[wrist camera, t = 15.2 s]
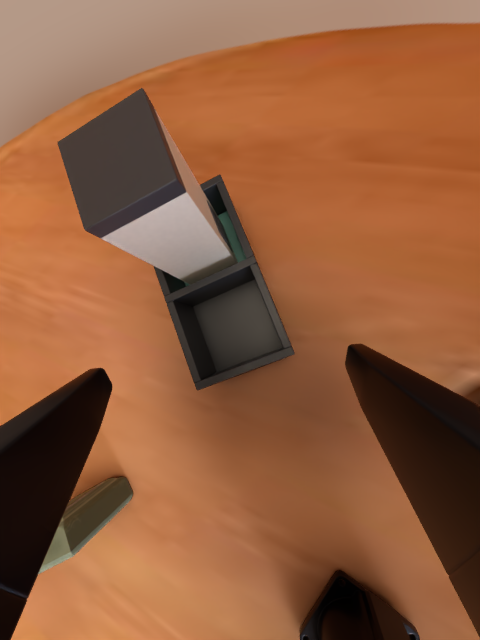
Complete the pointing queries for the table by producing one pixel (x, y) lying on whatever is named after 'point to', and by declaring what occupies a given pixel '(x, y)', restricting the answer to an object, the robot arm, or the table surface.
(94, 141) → the white gray rectangular block
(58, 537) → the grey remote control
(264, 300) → the organizer
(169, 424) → the table surface
